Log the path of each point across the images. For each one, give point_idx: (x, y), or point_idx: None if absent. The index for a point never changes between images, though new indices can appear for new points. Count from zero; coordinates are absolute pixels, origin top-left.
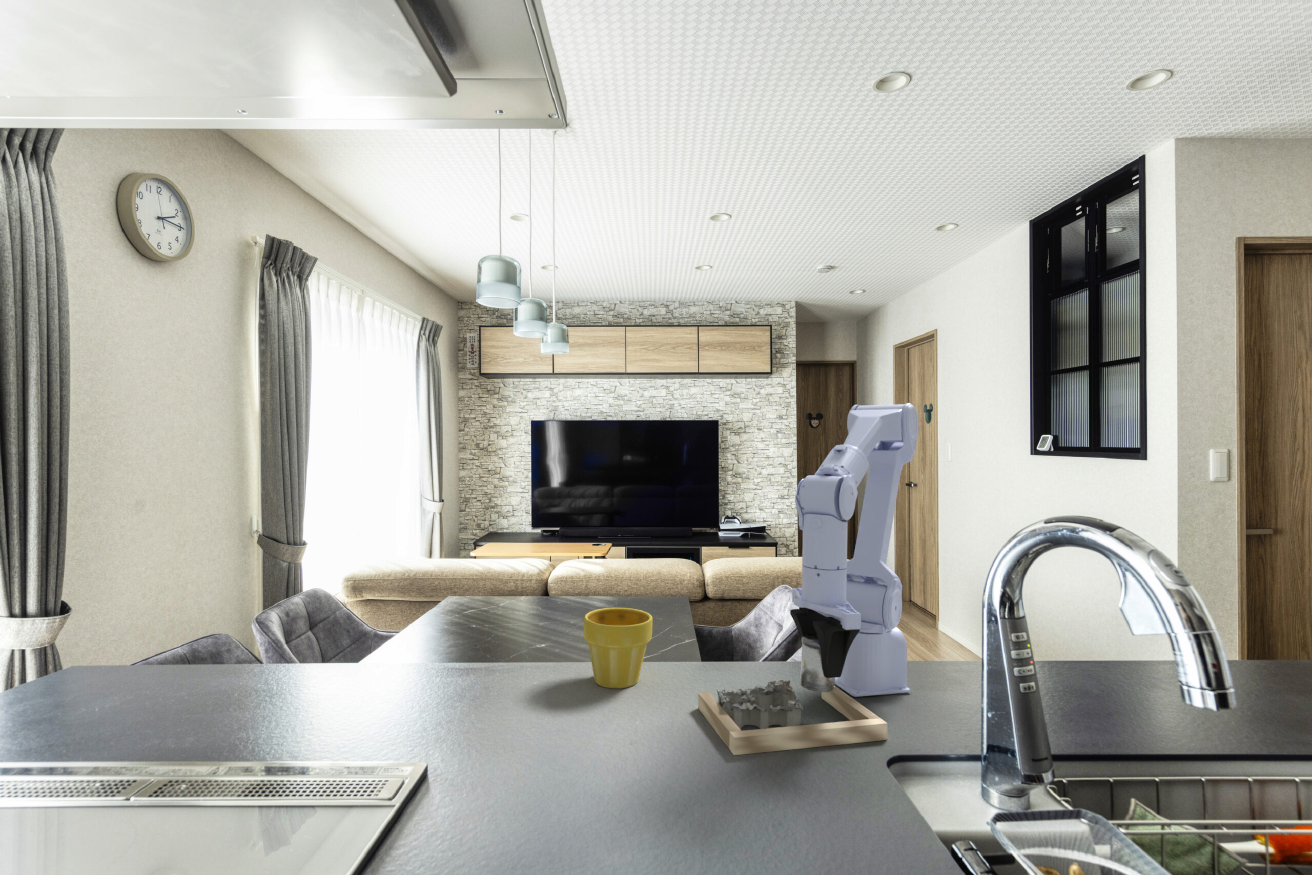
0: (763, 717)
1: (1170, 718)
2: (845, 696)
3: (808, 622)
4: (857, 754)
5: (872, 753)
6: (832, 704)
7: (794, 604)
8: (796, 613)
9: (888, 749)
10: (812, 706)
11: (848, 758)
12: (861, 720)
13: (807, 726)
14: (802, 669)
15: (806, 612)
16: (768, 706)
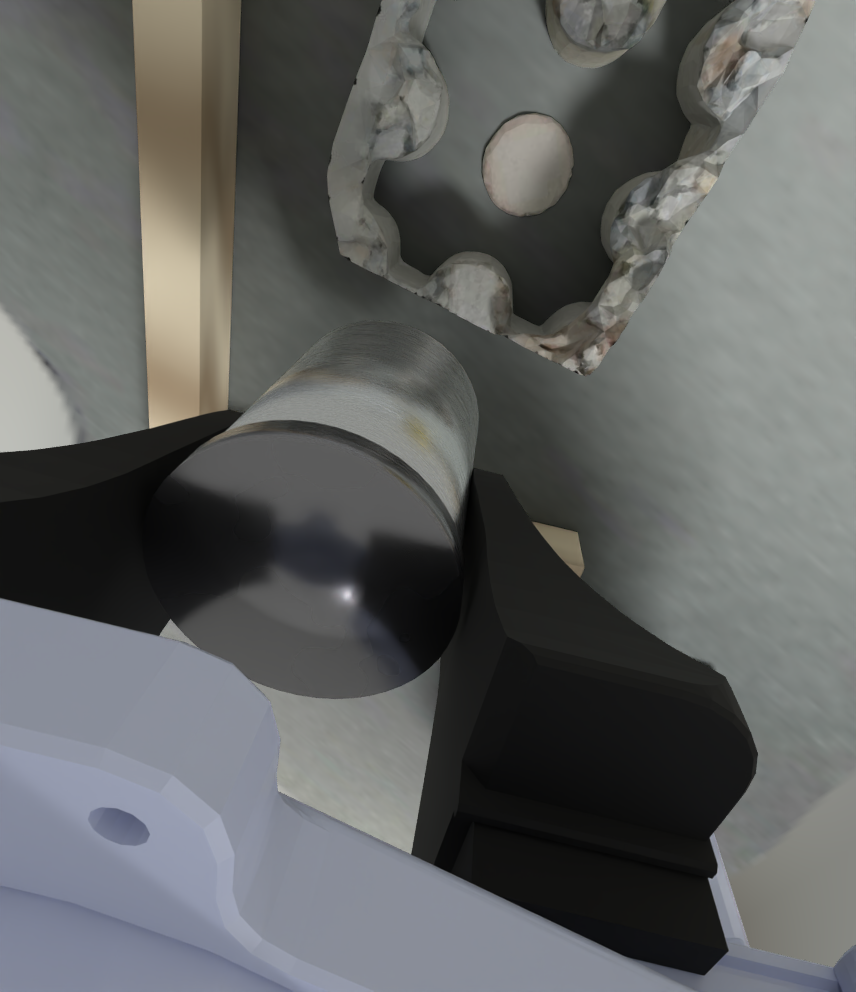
0: (422, 1)
1: None
2: None
3: (465, 691)
4: (97, 290)
5: (98, 350)
6: None
7: (148, 635)
8: (525, 671)
9: (118, 425)
10: (529, 441)
11: (70, 229)
12: None
13: (184, 144)
14: (386, 356)
15: (493, 791)
16: (606, 212)
